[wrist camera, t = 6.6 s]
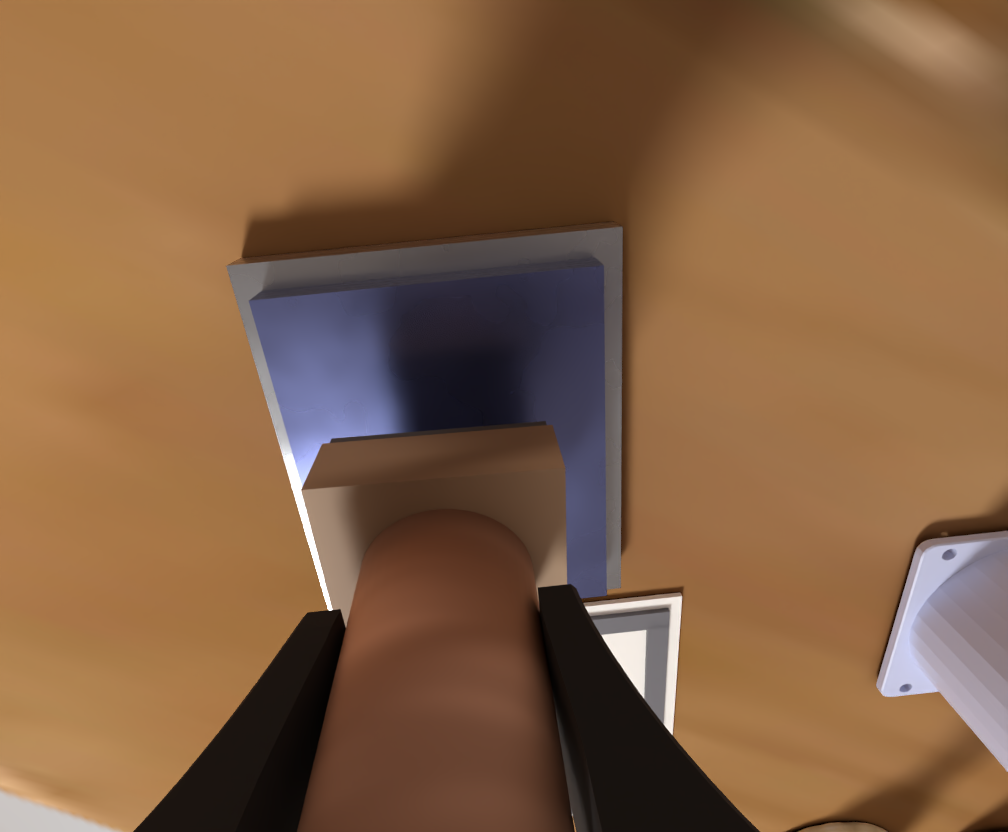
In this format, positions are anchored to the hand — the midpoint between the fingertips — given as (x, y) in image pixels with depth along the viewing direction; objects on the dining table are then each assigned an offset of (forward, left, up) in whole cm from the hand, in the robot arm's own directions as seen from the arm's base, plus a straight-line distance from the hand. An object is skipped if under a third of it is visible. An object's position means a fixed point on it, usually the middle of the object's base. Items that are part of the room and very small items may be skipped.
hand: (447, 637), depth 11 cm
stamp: (0, 0, -4) cm, 4 cm away
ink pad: (0, 0, -8) cm, 8 cm away
